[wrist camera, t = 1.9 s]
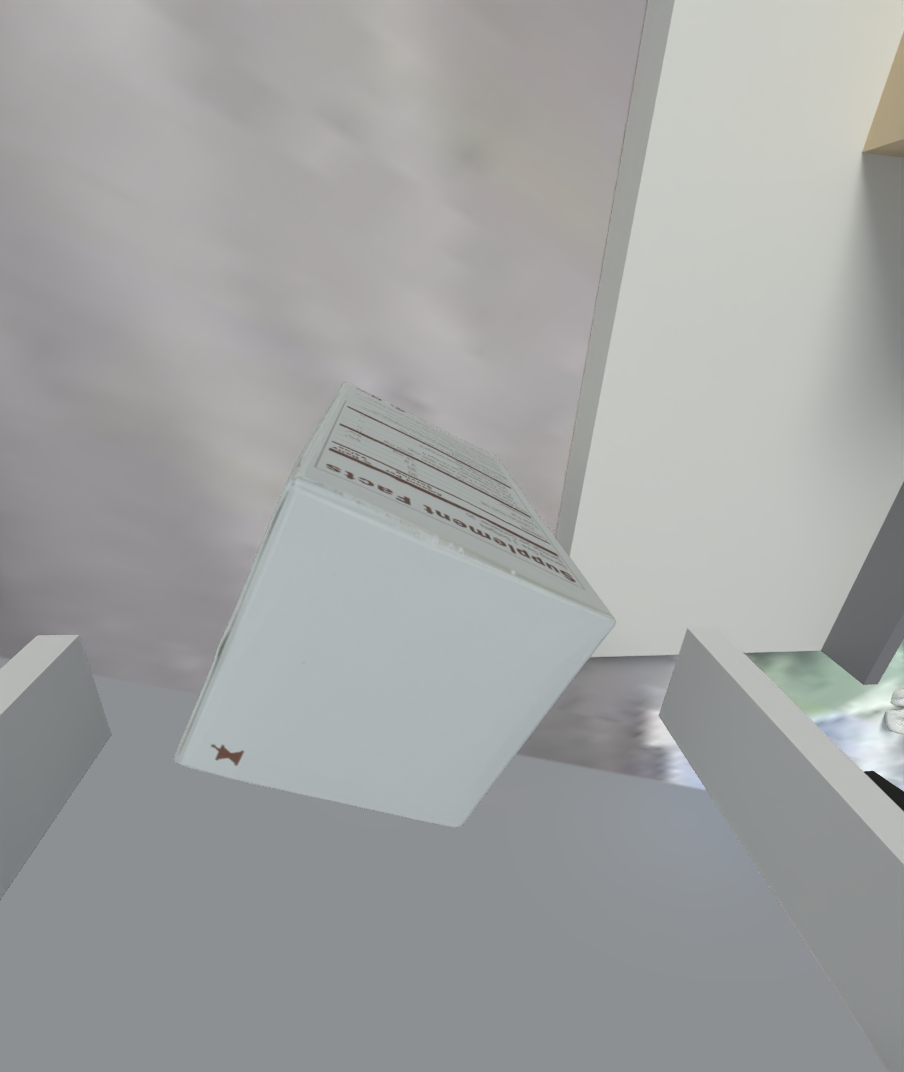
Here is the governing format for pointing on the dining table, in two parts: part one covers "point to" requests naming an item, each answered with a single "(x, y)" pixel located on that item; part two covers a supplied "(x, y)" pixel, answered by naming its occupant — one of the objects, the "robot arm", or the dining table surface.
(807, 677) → the dining table surface
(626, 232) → the shelf
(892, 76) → the carton
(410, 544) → the supplement box
